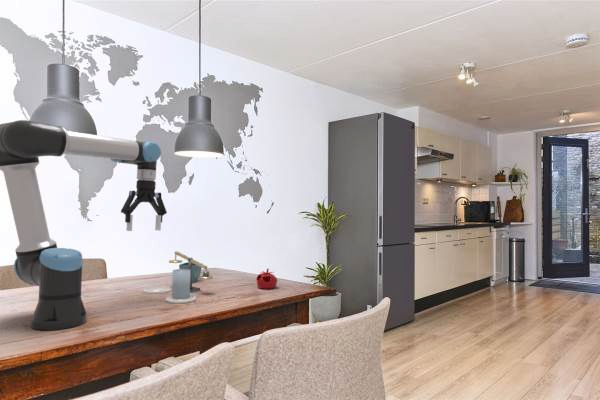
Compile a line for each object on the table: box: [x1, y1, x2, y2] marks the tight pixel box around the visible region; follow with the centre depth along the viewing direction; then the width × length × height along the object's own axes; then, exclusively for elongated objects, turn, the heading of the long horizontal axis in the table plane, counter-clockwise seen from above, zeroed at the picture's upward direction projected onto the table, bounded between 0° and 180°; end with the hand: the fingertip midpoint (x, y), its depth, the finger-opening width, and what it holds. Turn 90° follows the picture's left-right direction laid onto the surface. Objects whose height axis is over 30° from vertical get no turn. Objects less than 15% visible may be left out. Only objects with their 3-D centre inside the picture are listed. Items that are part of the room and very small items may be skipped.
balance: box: [168, 251, 214, 294], centre depth 180 cm, size 7×26×17 cm, turn 56°
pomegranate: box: [256, 268, 278, 290], centre depth 191 cm, size 10×10×9 cm
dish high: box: [142, 285, 172, 295], centre depth 178 cm, size 12×12×1 cm
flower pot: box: [178, 261, 203, 283], centre depth 203 cm, size 9×9×9 cm
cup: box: [171, 268, 191, 299], centre depth 162 cm, size 7×7×11 cm
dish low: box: [165, 294, 197, 305], centre depth 162 cm, size 12×12×1 cm
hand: (144, 230), depth 167 cm, fingers open, 13 cm apart
